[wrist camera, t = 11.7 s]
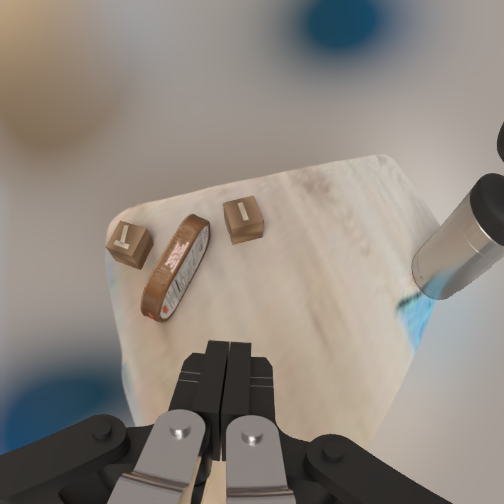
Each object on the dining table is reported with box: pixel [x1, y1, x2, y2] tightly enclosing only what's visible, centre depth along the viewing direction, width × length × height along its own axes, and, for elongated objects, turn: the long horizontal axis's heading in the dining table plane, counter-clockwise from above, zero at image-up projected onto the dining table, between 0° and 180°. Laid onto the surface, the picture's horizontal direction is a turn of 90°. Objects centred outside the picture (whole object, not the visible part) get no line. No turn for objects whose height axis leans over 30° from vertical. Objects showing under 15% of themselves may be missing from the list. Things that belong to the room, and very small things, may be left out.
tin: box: [141, 214, 210, 322], centre depth 41 cm, size 15×3×8 cm, turn 157°
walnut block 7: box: [106, 221, 153, 270], centre depth 44 cm, size 4×4×5 cm
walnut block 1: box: [223, 196, 264, 245], centre depth 47 cm, size 4×4×5 cm
